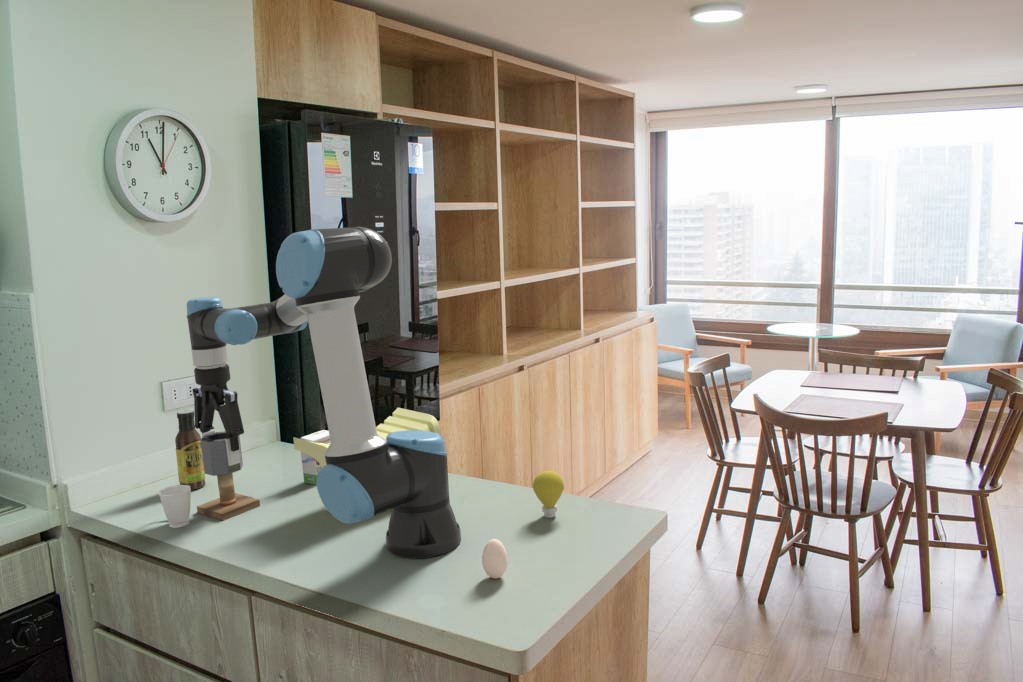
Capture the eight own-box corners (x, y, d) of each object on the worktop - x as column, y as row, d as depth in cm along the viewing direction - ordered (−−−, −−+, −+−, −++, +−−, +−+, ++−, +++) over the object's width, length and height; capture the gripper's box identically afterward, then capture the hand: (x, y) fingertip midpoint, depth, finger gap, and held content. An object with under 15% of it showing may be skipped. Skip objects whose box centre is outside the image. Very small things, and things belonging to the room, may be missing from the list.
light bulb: (571, 514, 173) (569, 470, 171) (551, 524, 168) (549, 478, 167) (548, 507, 178) (546, 464, 176) (528, 517, 173) (525, 472, 171)
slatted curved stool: (341, 528, 173) (333, 449, 169) (301, 511, 183) (293, 437, 180) (445, 487, 194) (439, 416, 191) (403, 474, 205) (397, 407, 202)
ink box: (316, 485, 200) (312, 440, 198) (303, 482, 203) (298, 438, 201) (341, 475, 207) (337, 431, 205) (327, 472, 210) (323, 429, 208)
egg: (478, 580, 145) (475, 542, 144) (492, 569, 149) (489, 532, 148) (499, 585, 143) (497, 546, 141) (513, 574, 147) (511, 536, 145)
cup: (170, 532, 175) (166, 498, 174) (151, 522, 182) (146, 488, 181) (201, 522, 180) (197, 488, 179) (181, 512, 187) (177, 479, 186)
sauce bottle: (190, 493, 200) (180, 416, 197) (175, 489, 203) (164, 413, 200) (212, 484, 205) (202, 409, 202) (196, 481, 209) (186, 407, 205)
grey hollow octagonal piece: (249, 466, 187) (245, 433, 185) (219, 477, 180) (215, 443, 179) (228, 461, 192) (224, 429, 190) (198, 471, 185) (194, 438, 184)
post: (260, 505, 189) (255, 463, 187) (223, 520, 181) (217, 476, 179) (234, 498, 194) (229, 457, 193) (197, 512, 186) (191, 469, 185)
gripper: (253, 365, 179) (264, 463, 183) (199, 358, 191) (210, 450, 195) (224, 372, 173) (236, 473, 177) (170, 365, 185) (182, 459, 189)
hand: (222, 461), depth 186 cm, fingers closed on grey hollow octagonal piece, 8 cm apart
